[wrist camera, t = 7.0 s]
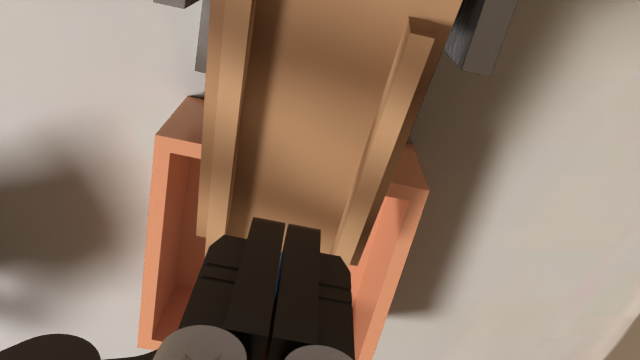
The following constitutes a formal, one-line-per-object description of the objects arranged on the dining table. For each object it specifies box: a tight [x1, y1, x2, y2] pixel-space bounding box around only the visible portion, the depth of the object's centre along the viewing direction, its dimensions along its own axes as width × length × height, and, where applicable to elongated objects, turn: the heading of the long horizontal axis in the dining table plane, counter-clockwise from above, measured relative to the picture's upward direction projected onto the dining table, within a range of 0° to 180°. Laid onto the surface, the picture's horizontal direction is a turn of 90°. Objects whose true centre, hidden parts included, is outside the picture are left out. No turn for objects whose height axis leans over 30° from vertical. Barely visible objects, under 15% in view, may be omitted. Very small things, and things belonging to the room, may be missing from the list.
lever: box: [196, 0, 463, 267], centre depth 17 cm, size 23×8×6 cm, turn 167°
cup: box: [137, 96, 430, 360], centre depth 33 cm, size 14×14×6 cm
